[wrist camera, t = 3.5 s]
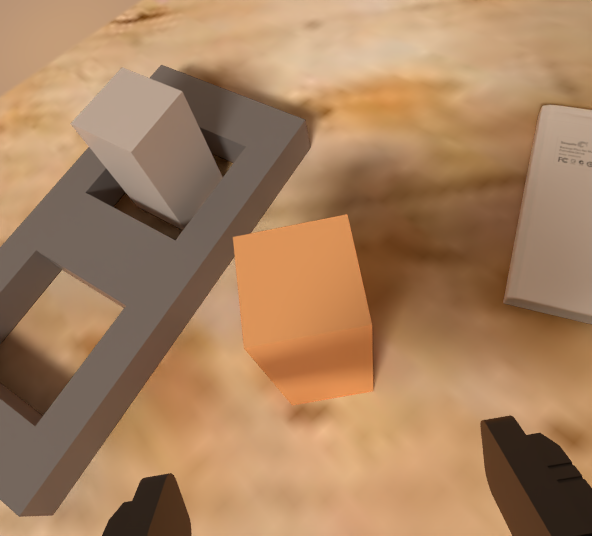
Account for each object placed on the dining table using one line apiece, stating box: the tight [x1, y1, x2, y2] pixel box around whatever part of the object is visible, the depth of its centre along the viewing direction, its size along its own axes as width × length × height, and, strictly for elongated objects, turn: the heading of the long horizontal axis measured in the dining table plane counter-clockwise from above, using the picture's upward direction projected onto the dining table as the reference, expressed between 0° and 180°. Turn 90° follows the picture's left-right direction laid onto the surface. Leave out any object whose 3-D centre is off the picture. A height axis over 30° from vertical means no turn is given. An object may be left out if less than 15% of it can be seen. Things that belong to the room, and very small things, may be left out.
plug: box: [233, 214, 373, 405], centre depth 21 cm, size 4×4×10 cm
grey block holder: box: [0, 65, 310, 517], centre depth 26 cm, size 24×11×8 cm, turn 148°
